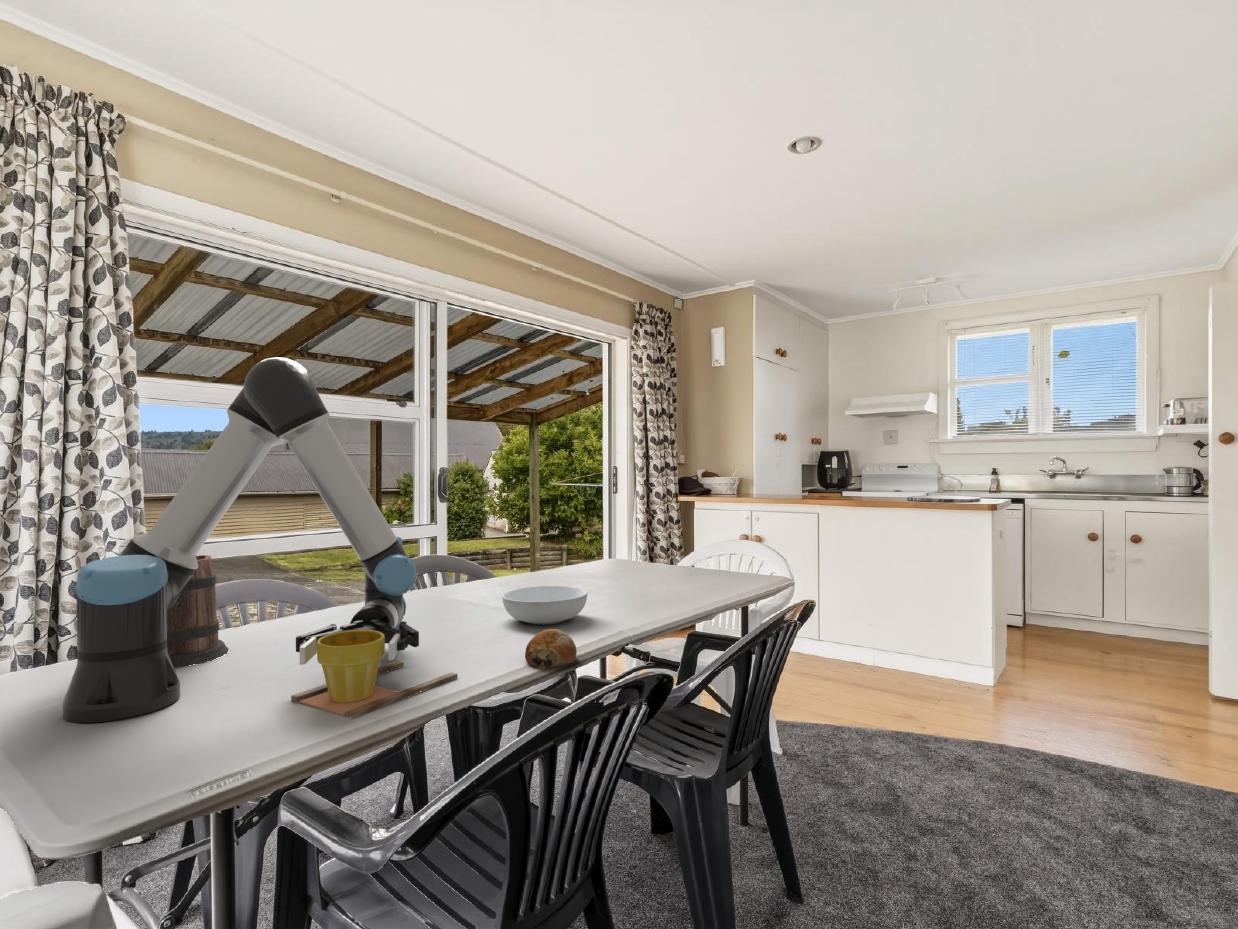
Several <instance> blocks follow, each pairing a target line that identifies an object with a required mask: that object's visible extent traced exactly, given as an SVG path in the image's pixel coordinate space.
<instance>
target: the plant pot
mask: <svg viewBox="0 0 1238 929" xmlns="http://www.w3.org/2000/svg"><path fill="white" fill-rule="evenodd" d="M385 647H386V643H385V635H384V634H383V633H382V632H379V631H375V630H348V631H341V632H336V633H332V634H328V635H325V636H323V637H321V638H320V639H319V640H318V641H317V653H316V657H317V658H316V659H317V662H318V664H320V665H321V667H322V668H321V669H322V672H323V674H324V680H325V683H326V684H327V688H328V692H329V697H330V700H331V701H333V702H337V703H351V702H357V701H361V700H364V699H366V698H368V697H370V696H371V695H372V694H373V690H374V686H376V680H377V676H378V675H377V672H378V668H379V667H380V663H381V662H380V661H381V659H382V658H383V657H384V655H385V651H386V649H385Z"/></svg>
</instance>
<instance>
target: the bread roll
mask: <svg viewBox="0 0 1238 929" xmlns="http://www.w3.org/2000/svg"><path fill="white" fill-rule="evenodd" d="M577 651H578V650H577V645H576V644H575V642H574V640H573V639H572V637H571V636H570V635H568V633H567V632H566V631H563V630H561V629H557V628H550V629H549V628H548V629H543V630H542V631H539V632H538V633H537V634H535V635H534V636H533V637H532V638H531V639H530V640H529V641H528V643H527V645H526V648H525V652H524V658H525V661H526V662H527V665H529V666H532V667H536V668H542V669H543V668H558V667H564V666H568V665H569V664H572V663H573V662H574V661H576V659H577Z"/></svg>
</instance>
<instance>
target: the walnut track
mask: <svg viewBox="0 0 1238 929" xmlns="http://www.w3.org/2000/svg"><path fill="white" fill-rule="evenodd" d="M404 664H405V663H404V662H403V661H399V660H397V661H395V662H390V663H388V664H386V665H382V666H379V667H378V672H377V676H379V674H380V675H383V674H385V673H388V672H387V671H389V672H391V671H394V670H398V669H400V668H399V667H401V668H403V667H404ZM397 668H398V669H397ZM455 678H457V679H458V678H459V677H458V673H457V672H449V673H446V674H443V675H441V676H438V677H436V678H435V677H434V678H432V679H430V680H427V681H425V682H422V683H419V684H415V685H414V686H411V687H409V688H405V689H402V690H400V691H397V693H394V694H392V695H389V696H386V697H384V698H381V699H378V700H375V701H373V702H370V703H367V704H365V705H362V706H359V707H356V708H354V709H351V710H348V711H347V714H346V717H348V718H351V719H354V718H357V717H360V716H362V715H365V714H368V713H370V712H373V711H376V710H377V709H378V710H379V709H380V708H383V707H386V706H390V705H392V704H393V703H396V702H398V701H401V699H402V700H404V699H406V698H409V697H408V696H410V697H412V696H414V694H415V695H417V694H416V693H418V694H419V692H420V691H423V692H425V691H427V690H426V689H428V690H430V689H429V688H431V689H433V688H435V686H436V687H437V685H438V686H440V685H439V684H441V685H444V684H446V683H448V682H447V681H449V682H451V681H453V679H454V680H456V679H455ZM445 682H446V683H445ZM443 683H444V684H443ZM424 690H425V691H424ZM325 692H328V688H327V684H323V685H320V686H316V687H313V688H311V689H307V690H305V691H301V692H297V693H295V694H292V695H290V700H291V701H292V702H295V703H296V702H300V701H301V700H304V699H307V698H310V697H313V696H316V695H319V694H322V693H325ZM420 693H421V692H420ZM411 695H412V696H411ZM403 698H404V699H403Z"/></svg>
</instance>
